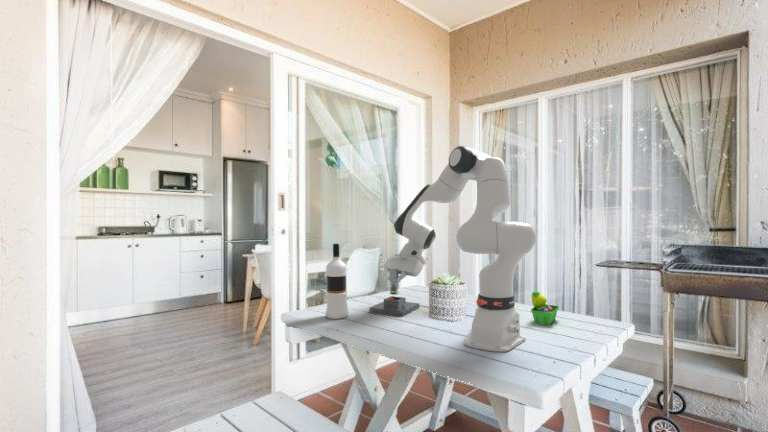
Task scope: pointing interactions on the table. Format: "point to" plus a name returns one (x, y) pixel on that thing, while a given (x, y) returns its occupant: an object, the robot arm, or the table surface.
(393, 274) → the column
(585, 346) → the table surface
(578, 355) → the table surface
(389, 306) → the stand base
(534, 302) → the fruit basket
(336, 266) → the vodka
